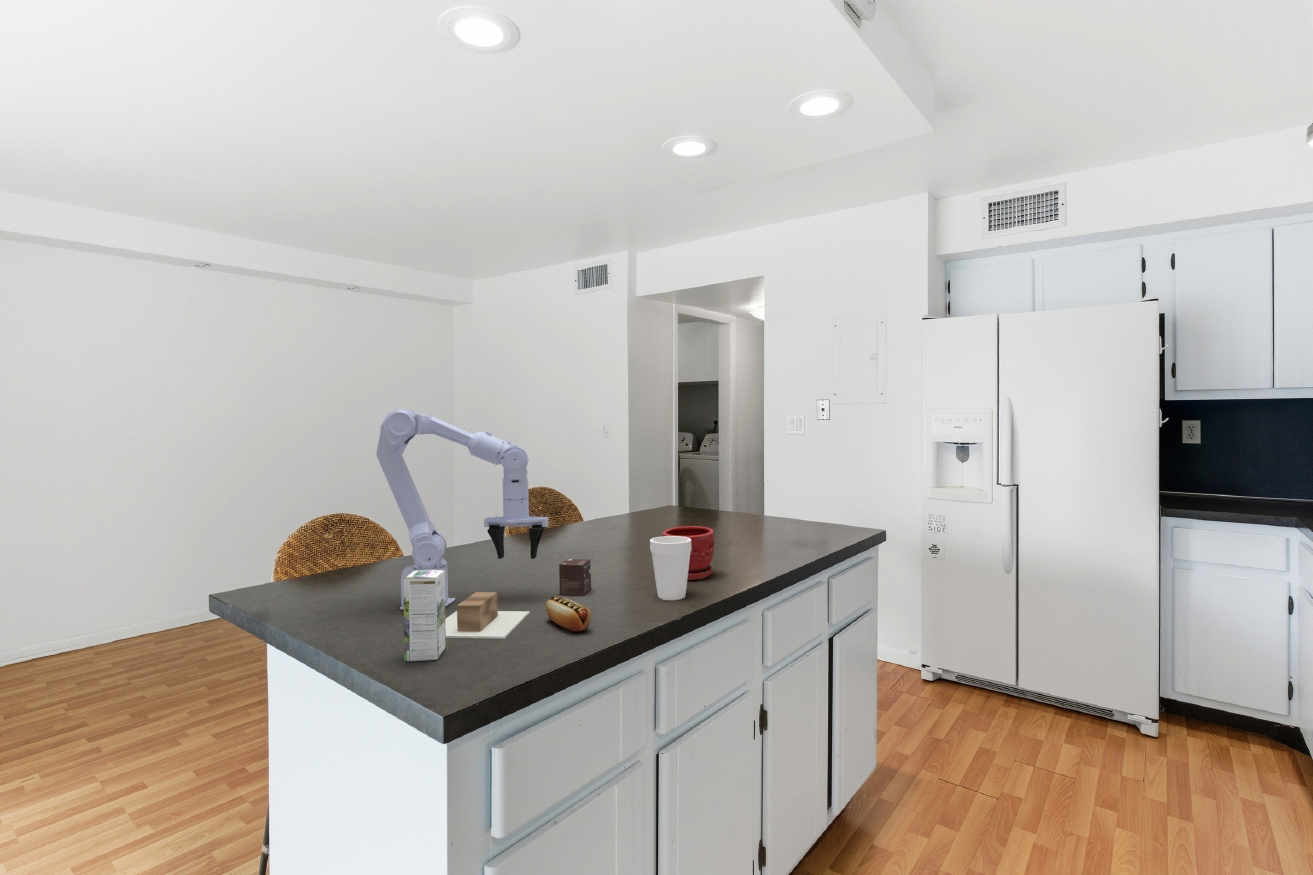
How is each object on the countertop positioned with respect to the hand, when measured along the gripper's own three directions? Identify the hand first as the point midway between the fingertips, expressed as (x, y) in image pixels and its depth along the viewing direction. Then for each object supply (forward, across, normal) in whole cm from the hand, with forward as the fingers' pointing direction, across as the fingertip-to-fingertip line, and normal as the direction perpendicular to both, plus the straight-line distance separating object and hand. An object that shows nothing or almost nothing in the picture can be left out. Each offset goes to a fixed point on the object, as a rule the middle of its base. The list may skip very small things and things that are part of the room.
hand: (517, 557), depth 149 cm
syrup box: (+10, -5, -36) cm, 38 cm away
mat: (+9, -2, -19) cm, 21 cm away
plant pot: (+10, +38, +22) cm, 45 cm away
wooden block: (+9, -2, -19) cm, 21 cm away
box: (+10, +12, +6) cm, 17 cm away
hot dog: (+10, +16, -19) cm, 27 cm away
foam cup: (+10, +35, +3) cm, 36 cm away
